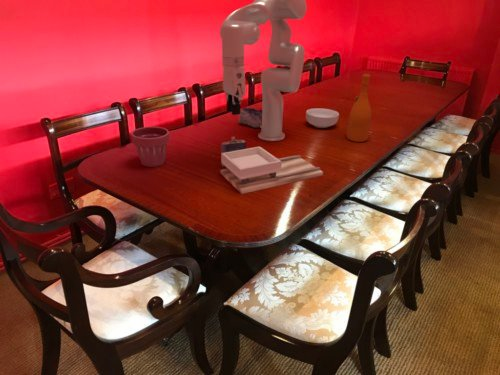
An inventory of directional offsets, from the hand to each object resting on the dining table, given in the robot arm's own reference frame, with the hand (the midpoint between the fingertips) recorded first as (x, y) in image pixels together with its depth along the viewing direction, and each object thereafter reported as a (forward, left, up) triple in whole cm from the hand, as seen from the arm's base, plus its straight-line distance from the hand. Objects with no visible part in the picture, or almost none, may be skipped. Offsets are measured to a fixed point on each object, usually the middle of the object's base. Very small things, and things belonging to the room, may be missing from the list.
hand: (233, 112), depth 143 cm
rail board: (+14, +9, -21) cm, 27 cm away
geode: (-41, +32, -22) cm, 56 cm away
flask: (0, 0, -22) cm, 22 cm away
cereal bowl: (-26, +62, -22) cm, 71 cm away
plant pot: (-16, -28, -21) cm, 39 cm away
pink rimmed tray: (+15, 0, -19) cm, 24 cm away
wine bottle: (-2, +65, -21) cm, 68 cm away
